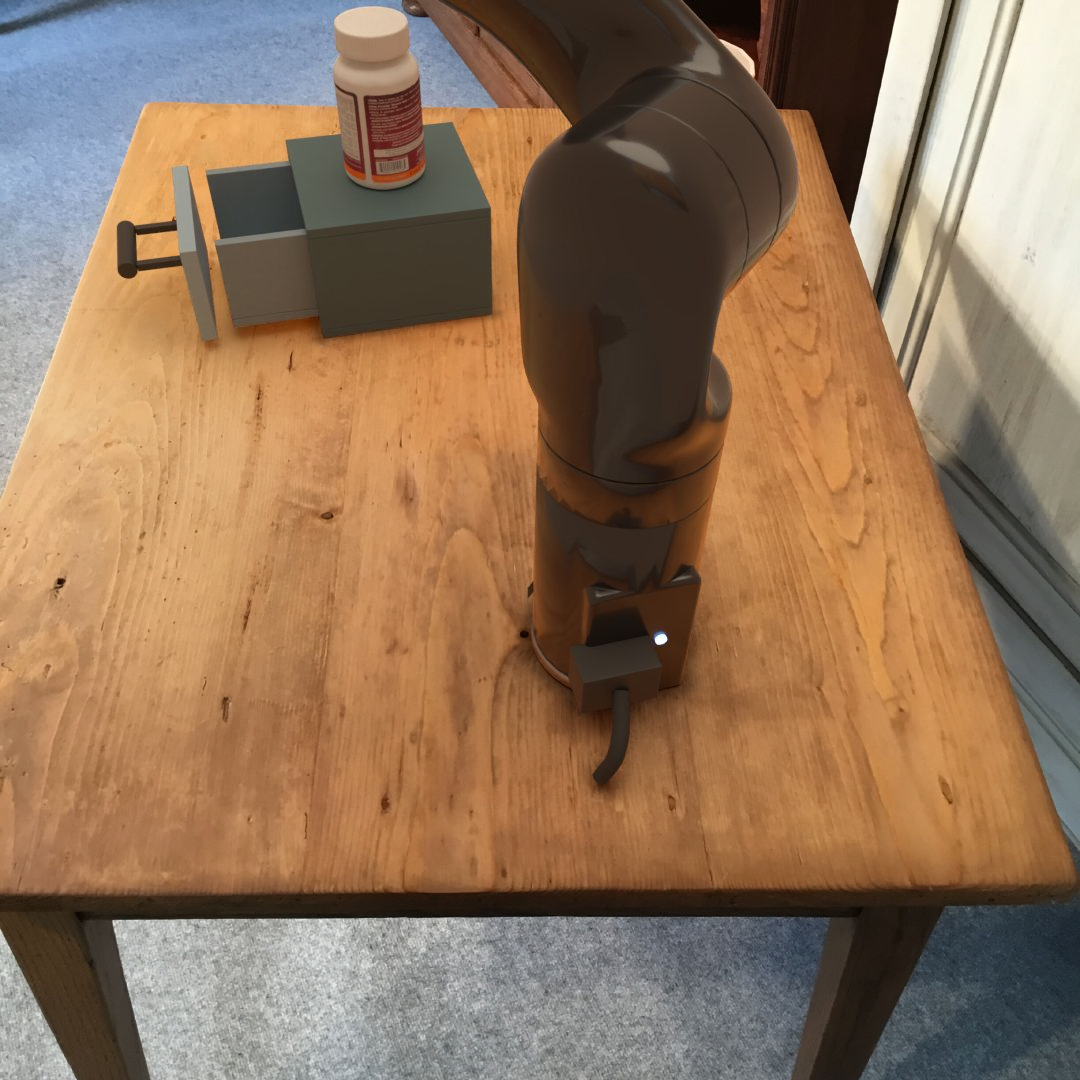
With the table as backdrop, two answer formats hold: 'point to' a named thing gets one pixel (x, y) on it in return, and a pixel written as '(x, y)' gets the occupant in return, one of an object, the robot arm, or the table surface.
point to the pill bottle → (378, 98)
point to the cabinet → (394, 238)
